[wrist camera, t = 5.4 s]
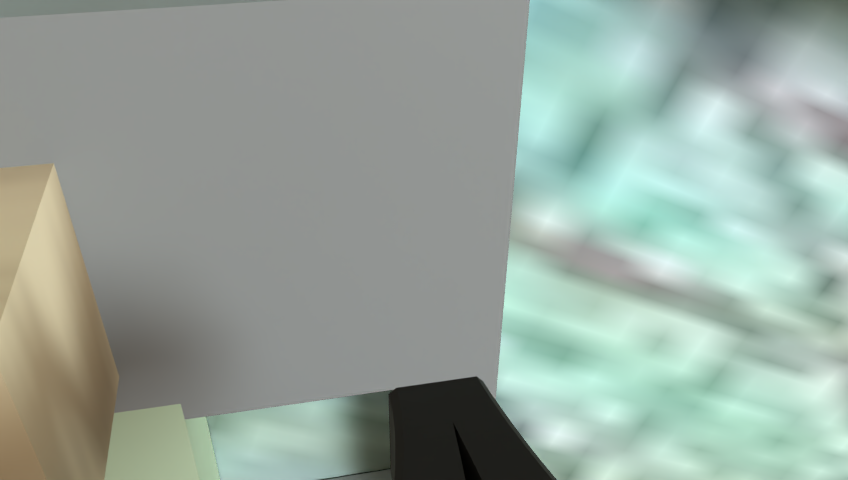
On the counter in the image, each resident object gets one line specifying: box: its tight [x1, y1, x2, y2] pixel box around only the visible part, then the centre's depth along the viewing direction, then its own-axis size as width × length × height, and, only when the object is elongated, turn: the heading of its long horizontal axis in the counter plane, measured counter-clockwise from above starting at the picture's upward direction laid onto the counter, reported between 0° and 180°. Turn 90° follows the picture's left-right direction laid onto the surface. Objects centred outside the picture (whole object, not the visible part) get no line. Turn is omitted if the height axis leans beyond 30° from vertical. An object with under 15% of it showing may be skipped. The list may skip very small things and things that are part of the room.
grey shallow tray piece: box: [0, 0, 530, 480], centre depth 16 cm, size 16×21×4 cm
